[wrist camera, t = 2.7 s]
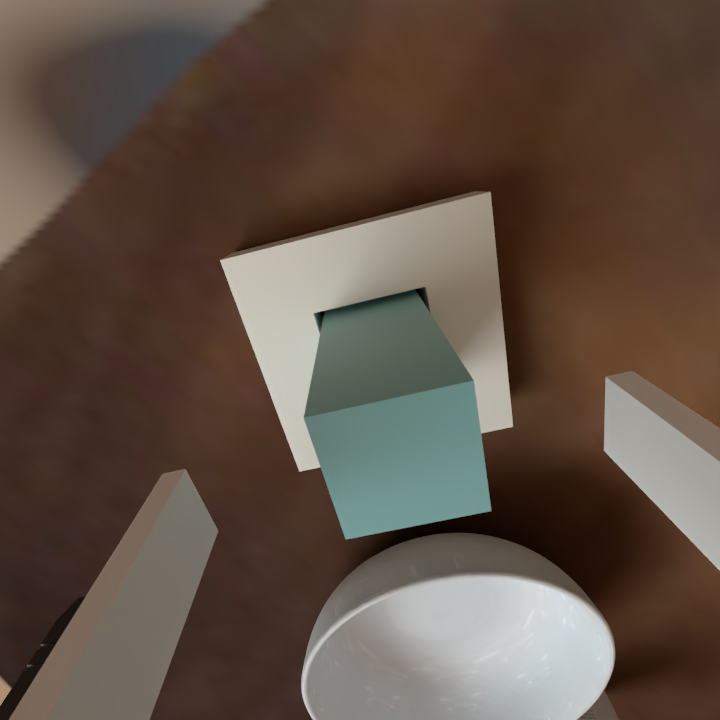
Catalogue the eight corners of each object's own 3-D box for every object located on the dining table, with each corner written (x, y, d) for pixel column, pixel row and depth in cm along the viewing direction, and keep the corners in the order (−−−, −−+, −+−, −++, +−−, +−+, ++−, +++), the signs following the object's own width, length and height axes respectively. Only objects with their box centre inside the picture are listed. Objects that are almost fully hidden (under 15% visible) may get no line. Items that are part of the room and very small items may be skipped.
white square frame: (474, 191, 20) (490, 191, 18) (498, 405, 25) (513, 426, 23) (233, 252, 21) (219, 260, 19) (303, 446, 26) (299, 471, 24)
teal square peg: (412, 284, 22) (473, 380, 11) (426, 363, 24) (491, 511, 13) (325, 305, 23) (303, 417, 12) (347, 381, 24) (345, 539, 13)
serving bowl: (561, 650, 36) (605, 748, 30) (336, 679, 37) (334, 780, 31) (572, 471, 28) (637, 554, 22) (282, 514, 29) (263, 606, 22)
